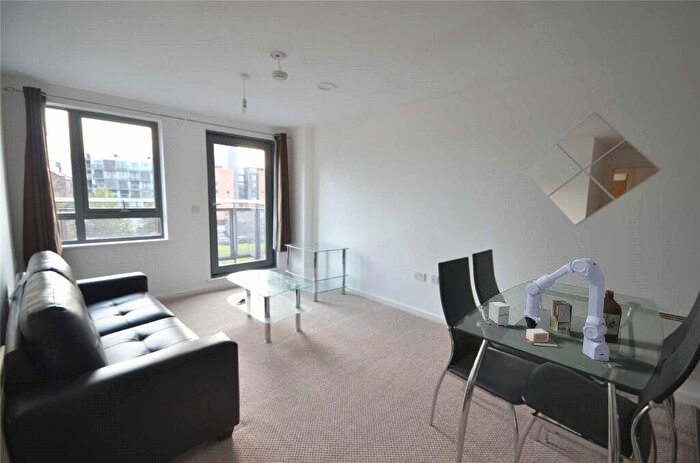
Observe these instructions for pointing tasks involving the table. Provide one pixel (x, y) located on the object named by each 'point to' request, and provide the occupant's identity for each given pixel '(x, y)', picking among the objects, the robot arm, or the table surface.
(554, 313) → the coffee box
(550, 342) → the tan wooden board
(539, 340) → the cream box
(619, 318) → the olive oil
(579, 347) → the table surface
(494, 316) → the supplement box
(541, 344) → the price rail
